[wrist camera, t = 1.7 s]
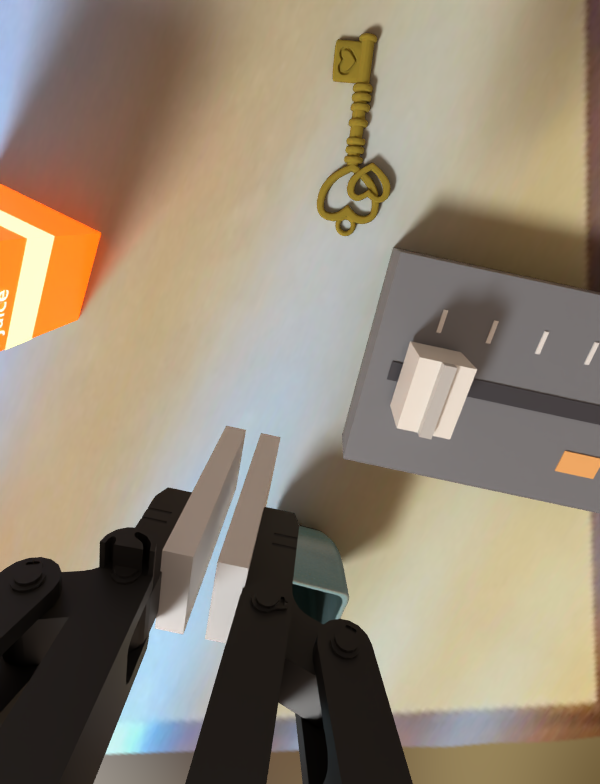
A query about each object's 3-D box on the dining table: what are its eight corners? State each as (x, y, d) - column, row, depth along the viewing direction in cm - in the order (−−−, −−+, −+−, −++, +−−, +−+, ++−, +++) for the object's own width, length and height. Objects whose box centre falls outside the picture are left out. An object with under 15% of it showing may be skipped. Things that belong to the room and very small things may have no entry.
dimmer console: (393, 247, 31) (401, 251, 28) (683, 310, 32) (730, 323, 28) (342, 434, 38) (343, 459, 34) (585, 486, 38) (613, 516, 34)
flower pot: (259, 496, 41) (240, 567, 33) (348, 519, 41) (351, 596, 33) (240, 563, 44) (219, 643, 36) (322, 584, 45) (319, 669, 36)
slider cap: (410, 341, 29) (421, 360, 26) (461, 352, 29) (480, 372, 26) (390, 405, 31) (397, 432, 28) (437, 415, 31) (452, 443, 28)
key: (333, 27, 26) (415, 34, 26) (333, 35, 27) (412, 42, 27) (313, 233, 31) (382, 240, 31) (314, 232, 32) (380, 239, 32)
